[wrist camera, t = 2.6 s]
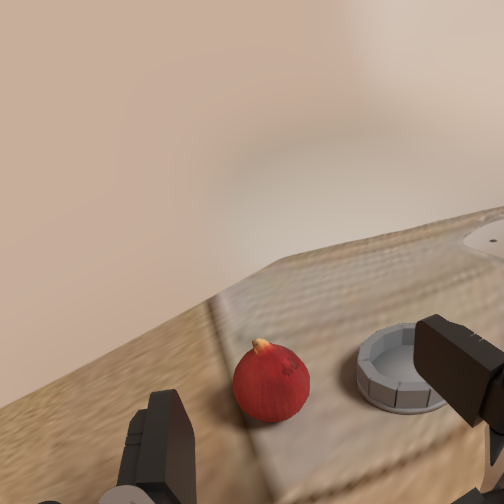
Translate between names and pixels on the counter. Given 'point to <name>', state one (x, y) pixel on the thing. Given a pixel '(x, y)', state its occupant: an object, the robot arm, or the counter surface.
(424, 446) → the counter surface
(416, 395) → the grey round tray
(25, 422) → the counter surface
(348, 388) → the counter surface
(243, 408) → the onion
